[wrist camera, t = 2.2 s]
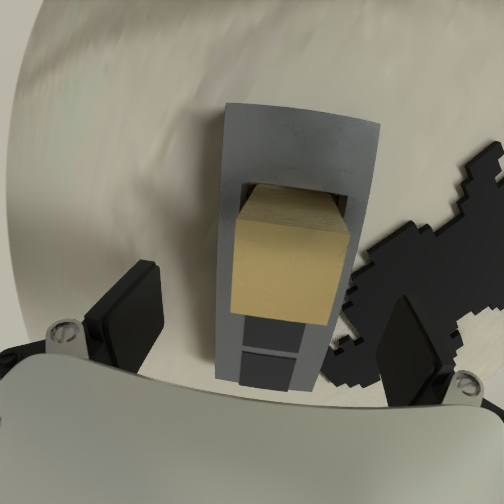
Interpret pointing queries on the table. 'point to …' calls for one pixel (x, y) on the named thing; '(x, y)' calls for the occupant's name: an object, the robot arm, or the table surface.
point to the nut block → (288, 255)
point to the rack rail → (292, 175)
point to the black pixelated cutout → (429, 274)
